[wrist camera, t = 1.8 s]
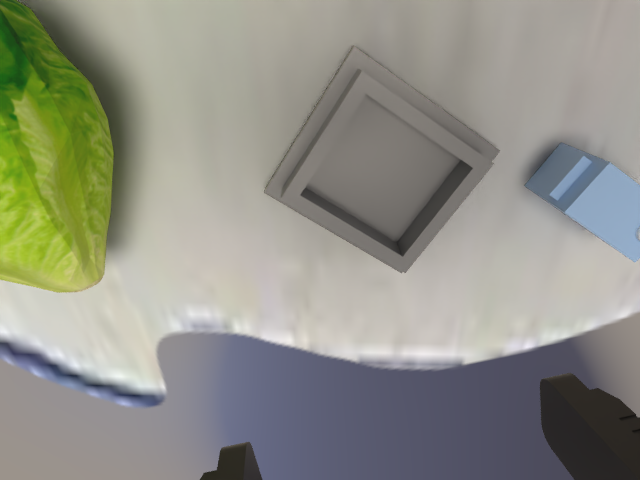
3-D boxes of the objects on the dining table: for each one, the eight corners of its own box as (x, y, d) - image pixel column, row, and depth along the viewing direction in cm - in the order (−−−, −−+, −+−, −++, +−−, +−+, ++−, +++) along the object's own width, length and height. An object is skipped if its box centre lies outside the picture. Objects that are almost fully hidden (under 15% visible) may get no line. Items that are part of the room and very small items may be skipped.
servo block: (553, 136, 33) (607, 158, 27) (630, 194, 35) (696, 226, 29) (516, 180, 35) (560, 209, 29) (592, 233, 37) (648, 271, 31)
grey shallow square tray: (352, 45, 30) (358, 46, 27) (494, 147, 34) (514, 159, 30) (265, 188, 34) (260, 203, 31) (399, 267, 38) (407, 288, 34)
